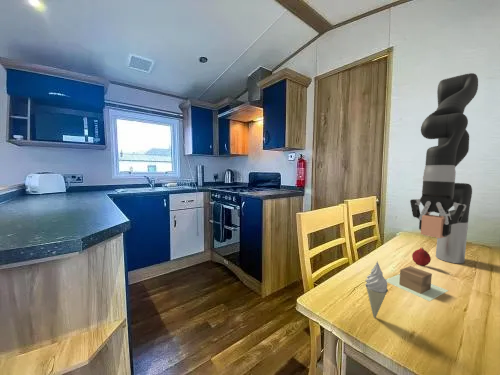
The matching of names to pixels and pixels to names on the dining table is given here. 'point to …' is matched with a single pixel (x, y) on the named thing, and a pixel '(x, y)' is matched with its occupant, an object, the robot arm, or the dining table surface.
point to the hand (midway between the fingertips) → (433, 233)
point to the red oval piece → (421, 257)
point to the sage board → (427, 295)
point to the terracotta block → (432, 226)
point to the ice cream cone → (376, 288)
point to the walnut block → (415, 279)
